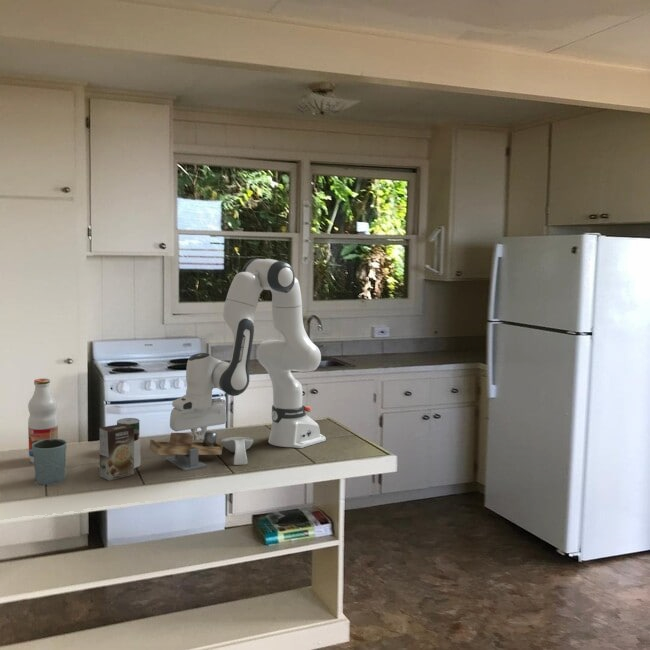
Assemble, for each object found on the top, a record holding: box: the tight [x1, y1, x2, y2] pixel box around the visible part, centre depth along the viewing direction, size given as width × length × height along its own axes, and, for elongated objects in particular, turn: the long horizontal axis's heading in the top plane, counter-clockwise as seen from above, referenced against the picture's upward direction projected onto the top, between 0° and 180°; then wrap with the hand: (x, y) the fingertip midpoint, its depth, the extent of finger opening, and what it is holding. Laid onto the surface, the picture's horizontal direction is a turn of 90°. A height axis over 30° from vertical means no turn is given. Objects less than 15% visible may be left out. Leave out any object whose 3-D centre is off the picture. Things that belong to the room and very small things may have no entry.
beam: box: [148, 439, 224, 456], centre depth 243 cm, size 24×9×3 cm, turn 128°
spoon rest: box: [220, 436, 255, 466], centre depth 254 cm, size 24×12×7 cm, turn 12°
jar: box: [134, 429, 141, 469], centre depth 238 cm, size 9×8×12 cm
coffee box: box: [99, 424, 135, 481], centre depth 229 cm, size 9×6×16 cm
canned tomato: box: [116, 417, 141, 440], centre depth 255 cm, size 8×8×11 cm
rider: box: [168, 432, 194, 446], centre depth 241 cm, size 6×5×4 cm
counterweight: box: [202, 430, 218, 447], centre depth 248 cm, size 4×4×5 cm
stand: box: [166, 448, 207, 472], centre depth 243 cm, size 8×14×6 cm, turn 37°
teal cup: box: [32, 438, 67, 486], centre depth 223 cm, size 10×10×12 cm
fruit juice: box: [27, 378, 59, 464], centre depth 241 cm, size 9×9×28 cm
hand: (198, 439), depth 245 cm, fingers closed
